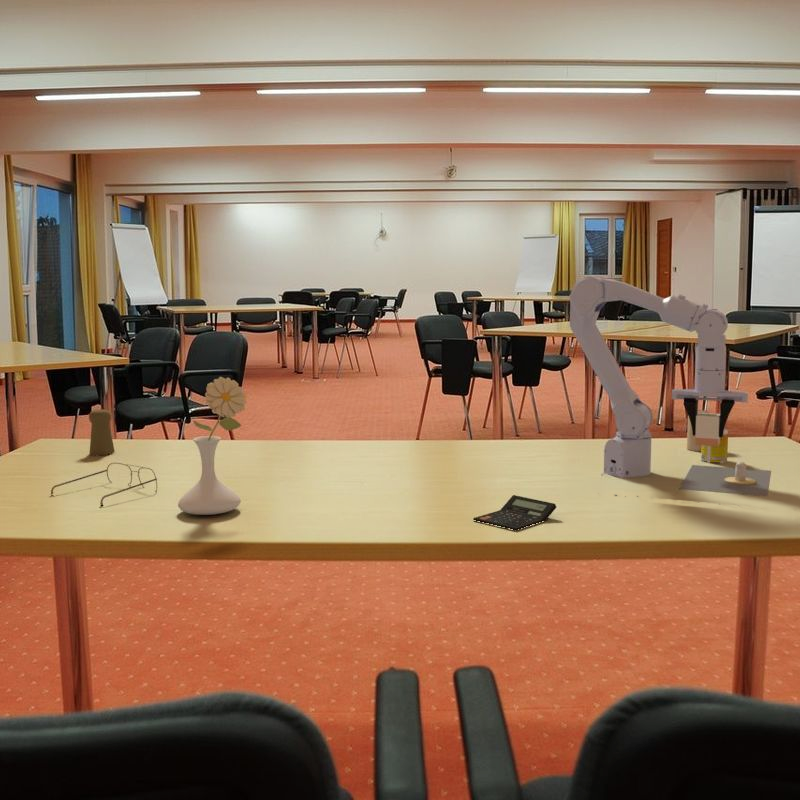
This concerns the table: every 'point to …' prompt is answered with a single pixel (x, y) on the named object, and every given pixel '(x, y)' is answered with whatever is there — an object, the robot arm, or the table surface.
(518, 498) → the calculator
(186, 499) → the flower in vase
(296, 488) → the table surface
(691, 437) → the beige bottle
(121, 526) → the table surface
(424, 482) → the table surface
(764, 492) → the pin board
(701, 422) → the sleeve
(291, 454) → the table surface
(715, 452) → the supplement bottle
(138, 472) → the eyeglasses
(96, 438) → the brown tapered column
